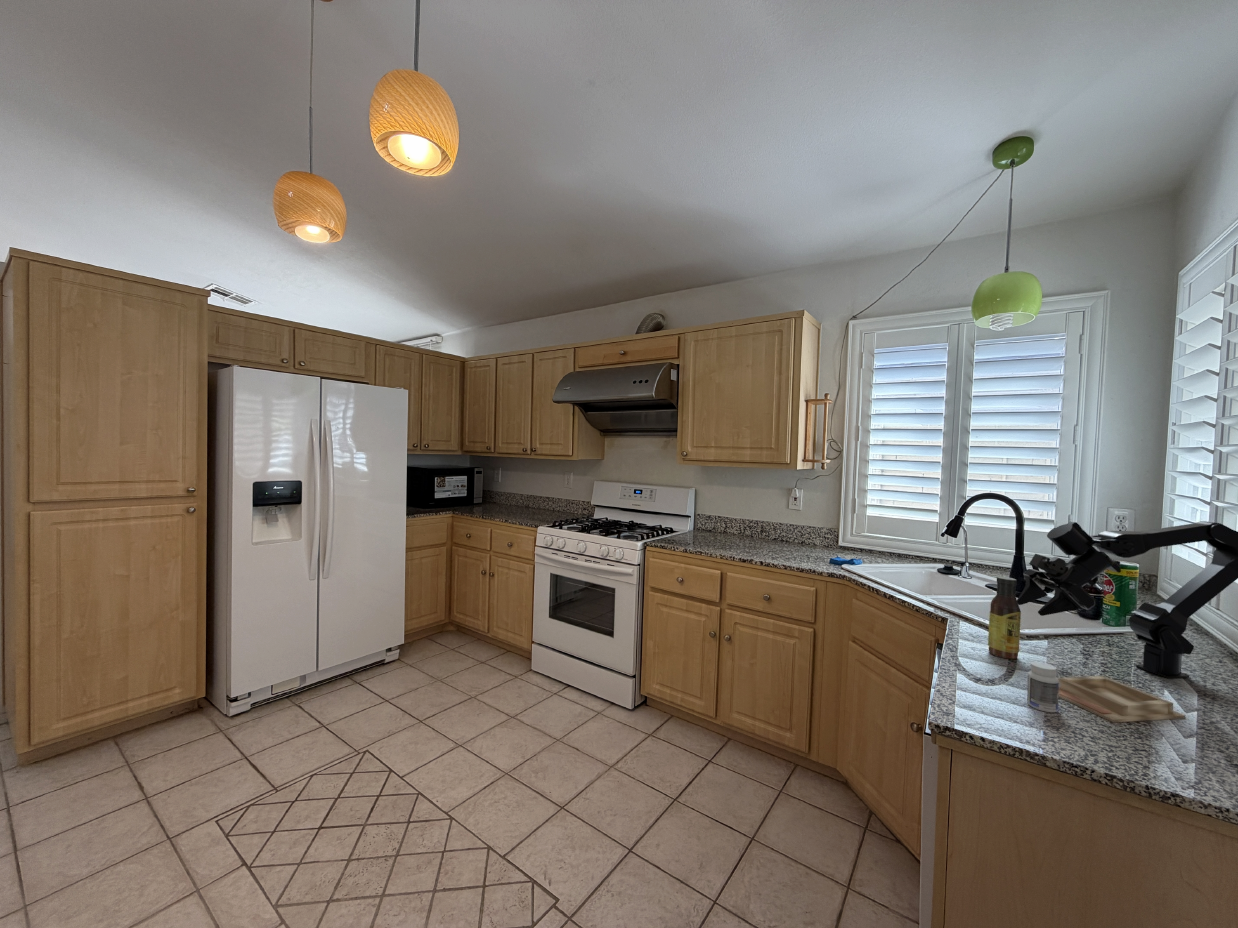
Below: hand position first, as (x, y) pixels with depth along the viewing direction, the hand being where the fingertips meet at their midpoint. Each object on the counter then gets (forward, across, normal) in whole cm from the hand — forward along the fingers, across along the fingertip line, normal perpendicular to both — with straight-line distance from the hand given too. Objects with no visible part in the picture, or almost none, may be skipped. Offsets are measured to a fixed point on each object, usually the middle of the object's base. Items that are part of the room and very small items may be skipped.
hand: (1028, 608), depth 122 cm
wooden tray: (+6, +22, +12) cm, 26 cm away
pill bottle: (+18, +29, +1) cm, 34 cm away
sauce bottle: (+13, 0, +6) cm, 14 cm away
